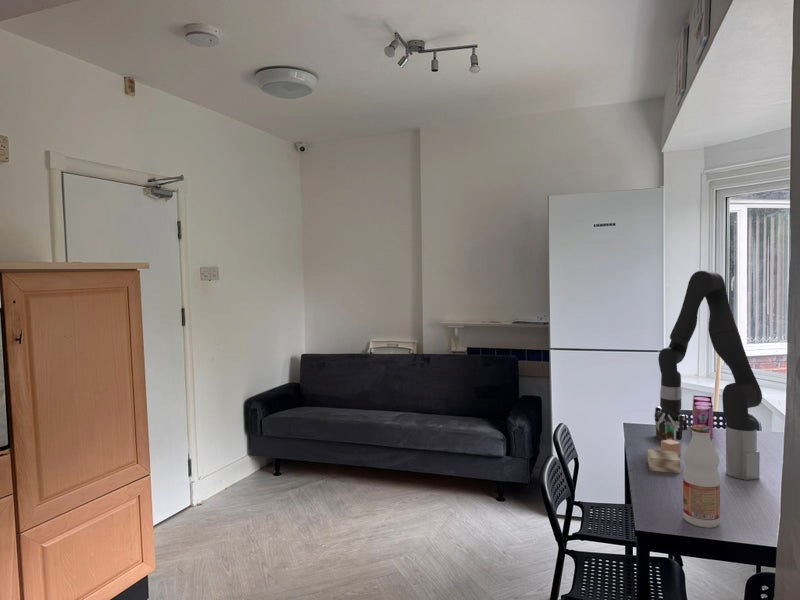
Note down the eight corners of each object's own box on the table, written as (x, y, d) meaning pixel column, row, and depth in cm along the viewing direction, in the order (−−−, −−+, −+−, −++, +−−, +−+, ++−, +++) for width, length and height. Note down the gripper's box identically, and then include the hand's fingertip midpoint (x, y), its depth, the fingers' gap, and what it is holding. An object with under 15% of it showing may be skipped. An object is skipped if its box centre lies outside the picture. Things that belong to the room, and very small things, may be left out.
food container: (682, 442, 224) (682, 419, 224) (667, 443, 224) (667, 419, 224) (668, 433, 237) (668, 411, 236) (654, 434, 237) (654, 412, 236)
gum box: (713, 439, 227) (713, 408, 226) (692, 437, 231) (692, 406, 230) (712, 425, 248) (712, 396, 247) (692, 423, 252) (692, 395, 251)
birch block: (676, 464, 201) (676, 451, 200) (680, 473, 191) (680, 460, 191) (647, 461, 204) (647, 449, 204) (649, 471, 195) (649, 457, 195)
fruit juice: (704, 531, 149) (704, 433, 148) (675, 517, 158) (675, 425, 156) (727, 524, 152) (727, 429, 151) (698, 511, 161) (698, 420, 160)
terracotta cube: (680, 455, 209) (680, 443, 209) (670, 457, 208) (670, 444, 208) (670, 451, 214) (670, 439, 214) (660, 453, 213) (660, 440, 213)
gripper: (692, 400, 204) (692, 441, 206) (665, 391, 218) (664, 430, 219) (676, 402, 202) (676, 443, 204) (649, 393, 216) (649, 432, 217)
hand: (670, 436), depth 211 cm, fingers open, 8 cm apart
